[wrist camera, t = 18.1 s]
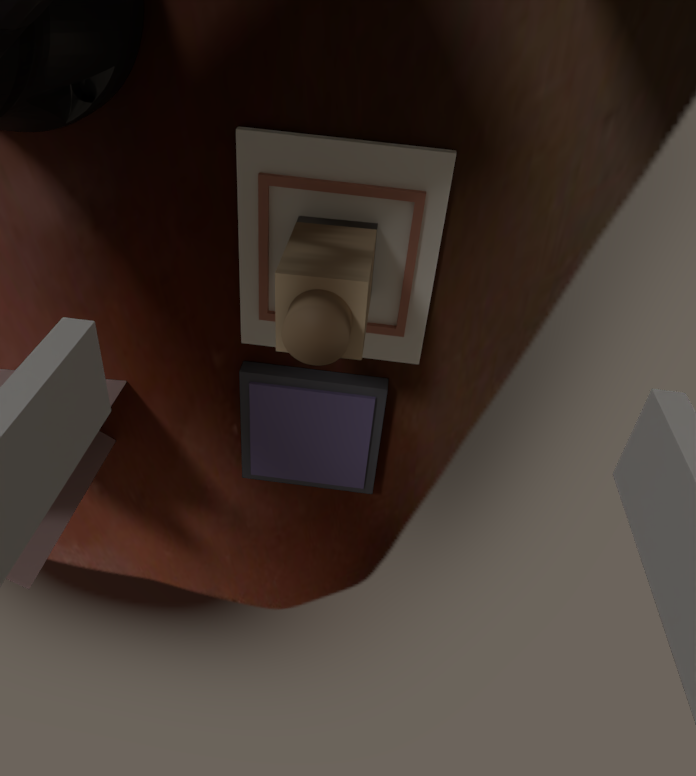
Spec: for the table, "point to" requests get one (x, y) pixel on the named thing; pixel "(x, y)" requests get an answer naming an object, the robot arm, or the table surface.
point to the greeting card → (62, 499)
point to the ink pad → (310, 426)
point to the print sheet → (343, 202)
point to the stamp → (325, 289)
